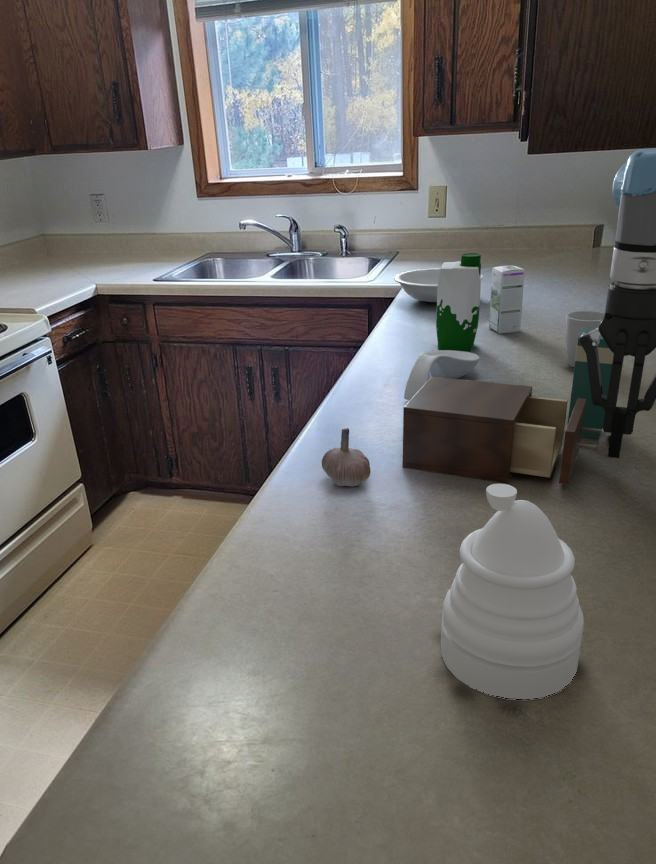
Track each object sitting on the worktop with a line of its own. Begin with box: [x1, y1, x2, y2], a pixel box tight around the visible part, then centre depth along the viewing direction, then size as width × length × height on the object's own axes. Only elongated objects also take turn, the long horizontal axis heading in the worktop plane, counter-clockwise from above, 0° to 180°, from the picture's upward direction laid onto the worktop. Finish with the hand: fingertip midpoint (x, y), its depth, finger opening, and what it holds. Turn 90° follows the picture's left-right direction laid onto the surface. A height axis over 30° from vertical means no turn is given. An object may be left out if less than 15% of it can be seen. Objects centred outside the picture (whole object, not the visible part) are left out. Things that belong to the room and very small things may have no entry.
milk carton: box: [435, 252, 482, 353], centre depth 160 cm, size 9×9×20 cm
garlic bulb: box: [321, 427, 371, 487], centre depth 106 cm, size 8×7×8 cm
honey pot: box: [440, 483, 585, 701], centre depth 68 cm, size 13×13×18 cm
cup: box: [565, 310, 605, 368], centre depth 147 cm, size 8×8×10 cm
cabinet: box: [401, 376, 533, 484], centre depth 111 cm, size 16×15×10 cm
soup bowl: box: [393, 267, 484, 303], centre depth 204 cm, size 24×24×7 cm
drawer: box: [510, 395, 611, 485], centre depth 107 cm, size 19×13×8 cm
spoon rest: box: [403, 349, 480, 401], centre depth 142 cm, size 24×12×7 cm, turn 151°
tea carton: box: [566, 327, 614, 440], centre depth 116 cm, size 6×6×16 cm
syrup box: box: [488, 265, 526, 334], centre depth 172 cm, size 6×6×14 cm
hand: (613, 453), depth 103 cm, fingers closed
